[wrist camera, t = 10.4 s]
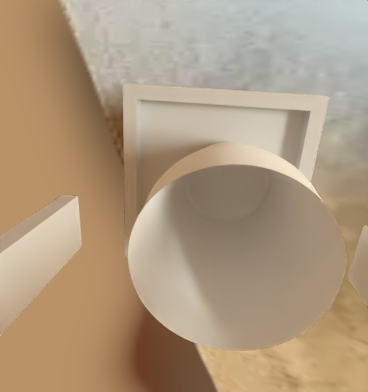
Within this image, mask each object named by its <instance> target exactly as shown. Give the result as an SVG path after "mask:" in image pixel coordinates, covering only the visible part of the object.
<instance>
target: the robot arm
mask: <svg viewBox="0 0 368 392" xmlns="http://www.w3.org/2000/svg"><path fill="white" fill-rule="evenodd" d="M81 246H82V240H81V227H80V215H79V202H78V196H73V195H64V194H63V195H61V196H60V197H58V198H57V199H55V200H54V201H52V202H51V203H49V204H48V205H46V206H45V207H43V208H42V209H40V210H39V211H37V212H36V213H34V214H32V215H31V216H29V217H28V218H26V219H25V220H24V221H22V222H20V223H19V224H17V225H16V226H14V227H13V228H11V229H10V230H8V231H7V232H5V233H4V234H2V235H1V236H0V336H1V335H2V334H3V333H4V332H5V331H6V330H7V328H8V327H9V326H10V325H11V324H12V323H13V322H14V321H15V320H16V318H17V317H18V316H19V315H20V314H21V313H22V312H23V311H24V310H25V308H26V307H27V306H28V305H29V304H30V303H31V302H32V301H33V300H34V298H35V297H36V296H37V295H38V294H39V293H40V292H41V291H42V290H43V288H44V287H45V286H46V285H47V284H48V283H49V282H50V281H51V280H52V278H53V277H54V276H55V275H56V274H57V273H58V272H59V271H60V269H61V268H62V267H63V266H64V265H65V264H66V263H67V262H68V261H69V260H70V258H71V257H72V256H73V255H74V254H75V253H76V252H77V251H78V250H79V248H80V247H81ZM347 278H348V279H349V281H350V282H351V284H352V285H353V287H354V289H355V290H356V292H357V293H358V295H359V296H360V298H361V299H362V301H363V302H364V304H365V305H366V307H367V308H368V226H364V227H363V230H362V233H361V236H360V239H359V243H358V246H357V249H356V252H355V255H354V258H353V262H352V265H351V268H350V271H349V274H348V277H347Z"/></svg>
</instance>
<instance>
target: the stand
mask: <svg viewBox="0 0 368 392" xmlns="http://www.w3.org/2000/svg"><path fill="white" fill-rule="evenodd" d="M329 97H330V96H319V95H303V94H287V93H271V92H254V91H238V90H222V89H206V88H190V87H174V86H158V85H141V84H125V83H123V137H124V213H125V214H124V215H125V217H124V219H125V220H124V222H125V256H128V247H129V240H130V236H131V232H132V230H133V227H134V224H135V222H136V220H137V218H138V216H139V214H140V212H141V211H142V209H143V207H144V205H145V203H146V200H147V198H148V196H149V194H150V191H151V190H152V188H153V187H154V185H155V184H156V182H157V181H158V180H159V179H160V177H161V176H162V175H163V174H164V173H165V172H166V171H167V170H168V169H169V168H171V167H172V166H173V165H174V164H175V163H177V162H178V161H180V160H181V159H183V158H184V157H186V156H188V155H190V154H192V153H194V152H196V151H198V150H201V149H203V148H205V147H208V146H210V145H212V144H216V143H220V142H235V143H240V144H244V145H248V146H252V147H256V148H259V149H263V150H266V151H268V152H271V153H273V154H275V155H277V156H279V157H281V158H283V159H284V160H286V161H287V162H289V163H290V164H292V165H293V166H294V167H296V168H297V169H298V170H299V171H300V172H301V173H302V174H303V175H304V176H305V177H306V178H307V179H308V180H309V182H310V183H311V178H312V174H313V169H314V165H315V160H316V156H317V151H318V147H319V142H320V138H321V133H322V128H323V124H324V119H325V115H326V110H327V106H328V101H329Z"/></svg>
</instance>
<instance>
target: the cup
mask: <svg viewBox="0 0 368 392" xmlns="http://www.w3.org/2000/svg"><path fill="white" fill-rule="evenodd" d="M128 263H129V271H130V275H131V279H132V282H133V285H134V287H135V290H136V292H137V294H138V296H139V297H140V299H141V301H142V302H143V304H144V305H145V306H146V308H147V309H148V310H149V311H150V313H151V314H152V315H153V316H154V317H155V318H156V319H157V320H158V321H159V322H160V323H162V324H163V325H164V326H165V327H167V328H168V329H169V330H171V331H172V332H174V333H176V334H177V335H179V336H181V337H183V338H185V339H187V340H189V341H192V342H194V343H197V344H200V345H203V346H207V347H211V348H215V349H222V350H232V351H246V350H256V349H263V348H267V347H272V346H275V345H278V344H281V343H284V342H286V341H289V340H291V339H293V338H295V337H297V336H299V335H300V334H302V333H303V332H305V331H307V330H308V329H309V328H311V327H312V326H313V325H314V324H315V323H317V322H318V321H319V320H320V319H321V318H322V317H323V316H324V315H325V313H326V312H327V311H328V310H329V308H330V307H331V306H332V304H333V303H334V301H335V299H336V297H337V296H338V293H339V291H340V289H341V286H342V283H343V280H344V275H345V270H346V249H345V243H344V239H343V236H342V232H341V230H340V227H339V225H338V223H337V221H336V219H335V217H334V216H333V214H332V212H331V211H330V210H329V208H328V207H327V206H326V204H325V203H324V202H323V200H322V199H321V198H320V196H319V195H318V194H317V192H316V190H315V189H314V187H313V186H312V184H311V183H310V182H309V180H308V179H307V178H306V177H305V176H304V175H303V174H302V173H301V172H300V171H299V170H298V169H297V168H296V167H294V166H293V165H292V164H290V163H289V162H287V161H286V160H284V159H283V158H281V157H279V156H277V155H275V154H273V153H271V152H268V151H266V150H263V149H259V148H256V147H252V146H248V145H244V144H240V143H235V142H220V143H216V144H212V145H210V146H208V147H205V148H203V149H201V150H198V151H196V152H194V153H192V154H190V155H188V156H186V157H184V158H183V159H181V160H180V161H178V162H177V163H175V164H174V165H173V166H172V167H171V168H169V169H168V170H167V171H166V172H165V173H164V174H163V175H162V176H161V177H160V179H159V180H158V181H157V182H156V184H155V185H154V187H153V188H152V190H151V191H150V194H149V196H148V198H147V200H146V203H145V205H144V207H143V209H142V211H141V212H140V214H139V216H138V218H137V220H136V222H135V224H134V227H133V230H132V232H131V236H130V240H129V247H128Z"/></svg>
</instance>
